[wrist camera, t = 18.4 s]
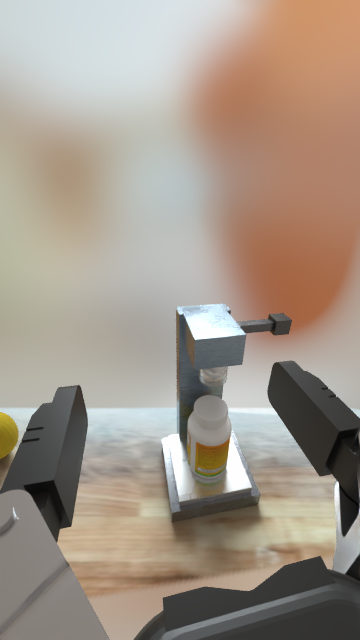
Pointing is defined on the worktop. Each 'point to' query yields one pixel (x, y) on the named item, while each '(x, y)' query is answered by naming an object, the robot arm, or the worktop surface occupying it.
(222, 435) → the supplement bottle
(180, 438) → the arbor press
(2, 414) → the lemon
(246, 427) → the worktop surface
